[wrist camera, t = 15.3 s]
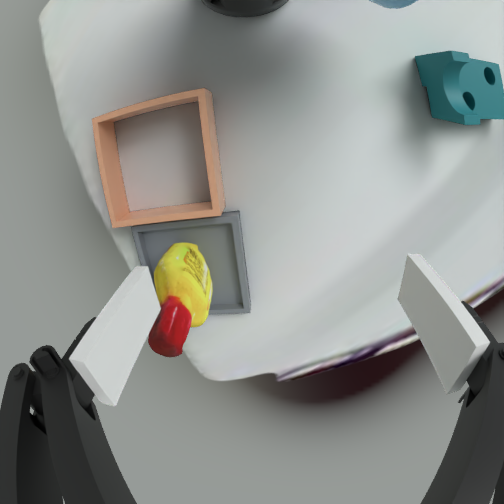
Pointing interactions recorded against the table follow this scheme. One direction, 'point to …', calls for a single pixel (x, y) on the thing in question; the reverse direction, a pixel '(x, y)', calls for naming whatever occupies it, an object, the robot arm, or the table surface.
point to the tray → (210, 246)
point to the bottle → (180, 297)
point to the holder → (112, 168)
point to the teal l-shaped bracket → (461, 87)
